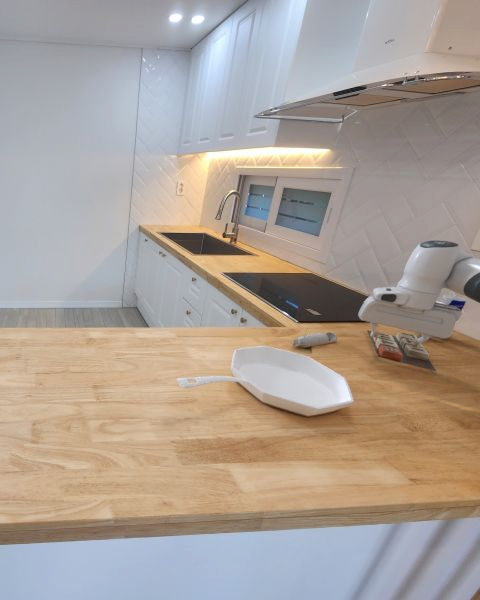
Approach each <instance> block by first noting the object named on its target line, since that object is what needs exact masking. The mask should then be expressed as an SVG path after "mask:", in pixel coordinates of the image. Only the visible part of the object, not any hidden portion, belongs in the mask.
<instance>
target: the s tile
mask: <svg viewBox="0 0 480 600" xmlns="http://www.w3.org/2000/svg"><path fill="white" fill-rule="evenodd" d="M378 351H379V353H380V355H381V356H382V357H386V358H390V359H394V360H398V361H401V359H402V357H403V354H402V352H401V351H400V349H397V348H393V347H389V346H384V345H380V347H379V350H378Z"/></svg>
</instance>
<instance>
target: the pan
mask: <svg viewBox="0 0 480 600" xmlns="http://www.w3.org/2000/svg"><path fill="white" fill-rule="evenodd" d="M233 350H234V351H233V353H232V359H231V363H230V373H231V374H232V375H233V376H229V375H208V376H194V377H177V378H176V382H177V384H178V385H179V386H180V387H181V388H183V389H190V388H195V387H200V386H203V385H208V384H213V383H221V382H233V383H238V385H240V386H241V387H242V388H244V389H245V390H246V391H247V392H248V393H249V394H251V395H252V396H253V397H254V398H255V399H257V400H258V401H259V402H261V403H262V404H264V405H268V406H270V407H273V408H276V409H280V410H282V411H286V412H289V413H292V414H296V415H299V416H303V417H306V418H309V417H310V418H311V417H317V416H321V415H327V414H330V413H334V412H337V411H338V410H342V409H344V408H348V407H351V406H352V405H353V404H354V402H355V401H354V397H353V393H352V391H351V388H350V385H349V383H348V381H347V379H346V377H344V376H343V375H341V374H339V373H338V372H336V371H334V370H333V369H331V368H329V367H328V366H326V365H324V364H323V363H321V362H319V361H317V360H316V359H314V358H311V357H310V356H308V355H305V354H301V353H298V352H293V351H289V350H286V349H282V348H277V347H272V346H268V345H258V346H257V345H256V346H248V347H241V348H234V349H233ZM190 381H192V382H195V383H192V382H190Z"/></svg>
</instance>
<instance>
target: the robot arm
mask: <svg viewBox="0 0 480 600" xmlns="http://www.w3.org/2000/svg"><path fill="white" fill-rule="evenodd" d="M401 277H402V278H401V279H400V280H399V281H398V282H397V284H396V286H386V287H385V286H384V287H375V288H373V290H372V293H371V295H370V296H368V297H367V298H366V299H365V300H364V302H362V305H361V306H360V308H359V311H358V313H357V316H358V318H359V320H360V321H363V322H368V323H369V325H370V328H371V331H372V332H371V334H370V336H371V337H375V338H377V337H378V335H379V333H380V332H379V330H377V329H376V328H377V327H379V325H381V326H386V327H389V328H395V329H398V330H404V331H408V332H412V333H413V332H417V333H421V335H422V337H420V338H418V339H417V340H415V339H413V340H412V342H411V345H412V346H413V347H417V348H419V346H420V344H421V343H422V344H423V343H425V342H427V341H429V340H430V338H431V337H432V336H435V337H439V338H444V339H443V340H446V339H445V338H447V339H448V338H450V337H451V336H452V334H453V331H454V329H455V326H456V322H457V321H459V320H460V318H461V316H462V313H463V312H462V311H461V310H460V309H459V308H457V307H456V306H453V305H446V304H442V303H437V302H436V301H438V298H439V297H440V294H441V293H442V289H447V290H449V291H451V292H453V293H457V294H460V295H461V296H464V297H466V298H469V299H470V300H472V301H475V302H477V303H479V304H480V258H479V257H475V256H473V255H471V254H469V253H468V252H465V251H464V250H462V248H460V245H459V244H458V243H457V242H453V241H448V240H426V241H423V242H421V243H419V244H418V245H417V246H416V247H415V248H414V250H413V251H412V253H411V254H410V256H409V257H408V260H407V262H406V264H405V266H404V268H403V275H402V276H401ZM456 309H457V310H456ZM370 336H369V337H370ZM435 337H434V338H435ZM439 338H438V339H439Z"/></svg>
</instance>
